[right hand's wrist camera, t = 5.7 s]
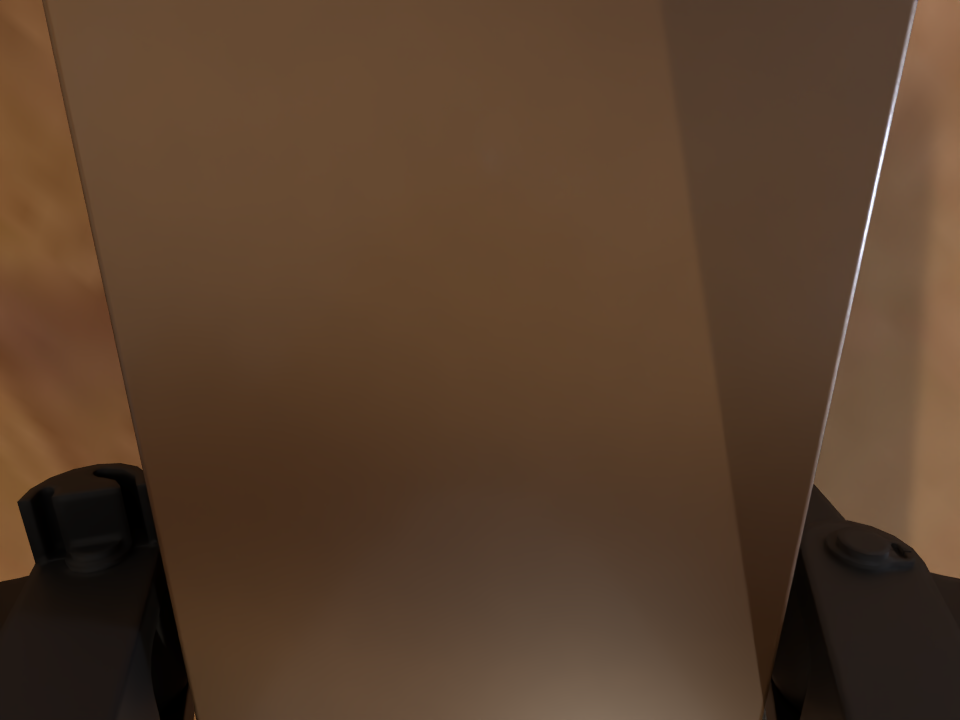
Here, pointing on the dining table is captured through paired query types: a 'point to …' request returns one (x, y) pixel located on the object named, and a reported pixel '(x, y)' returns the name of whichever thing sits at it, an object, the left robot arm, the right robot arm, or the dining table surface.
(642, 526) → the bar
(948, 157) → the dining table surface
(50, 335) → the dining table surface
